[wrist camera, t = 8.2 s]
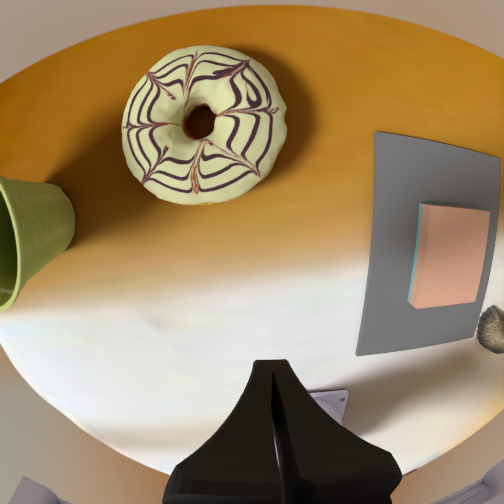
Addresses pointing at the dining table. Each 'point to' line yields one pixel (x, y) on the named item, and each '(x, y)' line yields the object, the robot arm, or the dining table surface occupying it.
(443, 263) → the tile
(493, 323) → the eagle figurine
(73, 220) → the plant pot
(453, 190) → the mat
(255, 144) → the decorated donut
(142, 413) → the dining table surface
